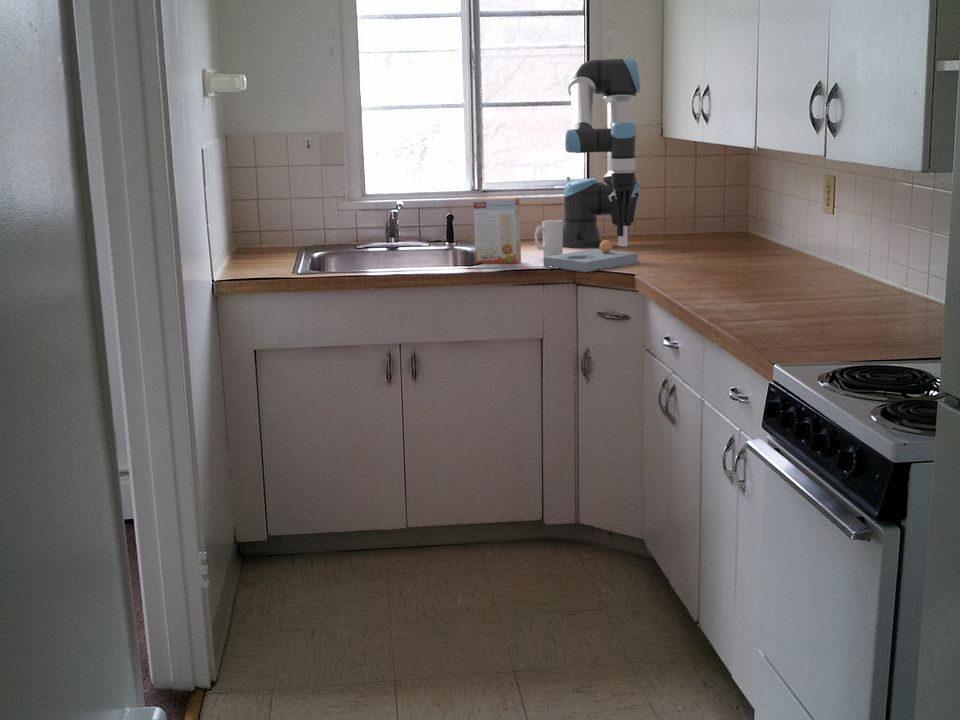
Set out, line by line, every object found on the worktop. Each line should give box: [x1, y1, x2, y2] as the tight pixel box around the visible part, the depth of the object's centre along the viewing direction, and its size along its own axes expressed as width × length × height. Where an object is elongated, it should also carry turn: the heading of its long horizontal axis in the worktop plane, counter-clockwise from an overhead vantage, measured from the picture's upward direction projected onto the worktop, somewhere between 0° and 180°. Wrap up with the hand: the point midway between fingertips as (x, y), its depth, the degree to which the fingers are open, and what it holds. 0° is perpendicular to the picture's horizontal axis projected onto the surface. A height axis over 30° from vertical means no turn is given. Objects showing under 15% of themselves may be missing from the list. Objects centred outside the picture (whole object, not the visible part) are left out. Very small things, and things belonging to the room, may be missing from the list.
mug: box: [534, 219, 564, 258], centre depth 345 cm, size 10×7×12 cm, turn 113°
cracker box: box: [473, 196, 522, 265], centre depth 336 cm, size 14×6×21 cm, turn 72°
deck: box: [543, 248, 639, 273], centre depth 328 cm, size 24×18×3 cm
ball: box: [599, 239, 613, 253], centre depth 332 cm, size 4×4×4 cm
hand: (622, 245), depth 337 cm, fingers closed
